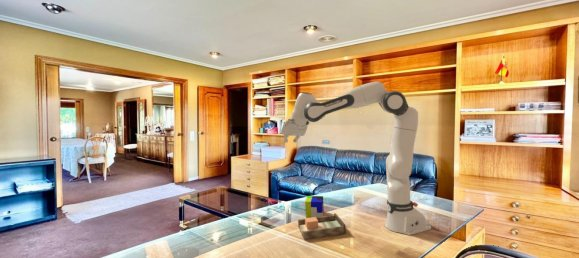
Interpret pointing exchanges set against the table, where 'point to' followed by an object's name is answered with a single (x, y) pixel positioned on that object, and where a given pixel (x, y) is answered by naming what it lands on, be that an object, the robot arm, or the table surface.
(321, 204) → the puzzle toy
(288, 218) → the table surface
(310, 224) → the block
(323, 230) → the box
